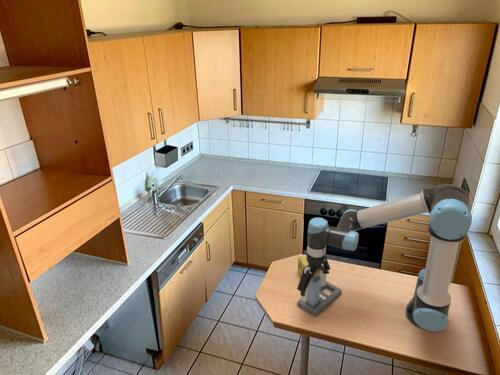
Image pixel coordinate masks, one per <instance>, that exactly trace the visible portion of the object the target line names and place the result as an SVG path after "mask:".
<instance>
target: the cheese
mask: <svg viewBox="0 0 500 375" xmlns="http://www.w3.org/2000/svg"><path fill="white" fill-rule="evenodd" d="M306 258H307V255H303V256H298V258H297V273H298V275H299V276H300V278H301V276H302V273H303V268H308V262H307V259H306ZM322 266H323V264H322ZM323 267H324V266H323ZM321 271H322V270H320V269H319V270H318V271H317V272H316V273H315V275H317V276H319V277H320V272H321ZM309 272H310V271H309ZM322 272H323V271H322ZM310 273H311V274H312V272H310Z"/></svg>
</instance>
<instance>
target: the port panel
mask: <svg viewBox="0 0 500 375" xmlns="http://www.w3.org/2000/svg"><path fill="white" fill-rule="evenodd" d="M325 289H327V290H328V291H330V292H331V293H330V294H327V293H325V292H323V290H325ZM342 291H343V290H342V289H341V288H339V287H337V285H334V284H332V283H331V282H329V281H327V280H326V285H325V286H323V285H320V296H319V304H318V305H317V306H316V307H315V308H312V307H311V306H309V305H308V304H306V302H304V301H303V300H301V298H300V299H299V300H297V305H296V306H297V307H299V308H300V309H301V310H303V311H304V312H306V313H308V315H311V316H312V317H314V318H317V316H319V315H320V314H321V313H323V312H324V311H325V309H327V307H328V306H330V305H331V304H332V303H333V302H335V300H336V299H338V297H340V296H341V295H342Z"/></svg>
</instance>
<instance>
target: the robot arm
mask: <svg viewBox="0 0 500 375" xmlns="http://www.w3.org/2000/svg"><path fill="white" fill-rule="evenodd" d="M422 214H429V220H428V226H427V233H428V234H429V235H430V241H429V242H430V243H429V247H428V254H427V258H426V264H425V268H422V269H421V270H420V271H419V272H418V274H417V280H416V284H415V289H414V292H413V297H412V298H411V299H410V300H409V302H408V303H407V304H406V307H405V316H406V318H407V319H408V320H409V322H411V323H412V325H414V324H415V325H414V326H416V325H417V326H416V327H418V328H420V327H421V328H420V329H423V330H425V331H430V332H439V331H443V330H445V329H446V328H447V327H448V324H449V310H450V306H451V302H452V297H451V294H450V293H449V289H450V286H451V282H452V281H451V279H452V276H453V272H454V267H455V263H456V257H457V254H458V248H459V244H460V243H461V242H463V241H464V240H466V237H467V233H468V232H469V231H470V228H471V226H472V222H473V217H472V213H471V206H470V197H469V194H468V193H467V192H466V190H465V189H463V188H462V187H460V186H458V185H456V184H450V183H446V184H445V183H444V184H439V185H434V186H431V187H427V188H423V189H422V190H421V191H420V192H419V193H416V194H413V195H409V196H406V197H402V198H399V199H395V200H391V201H388V202H384V203H380V204H377V205H373V206H371V207H366V208H364V209H363V208H362V209H359V210H356V209H346V210H345V211H344V212H343V214H342V215H341V217H340V220H339V222H338V223H337V226H336V227H335V226H331V225H329V223H328V220H327V219H325V218H323V217H313V218H311V219H310V220H309V222H308V228H307V246H306V256H307V258H306V259H307V262H308V268H303V273H302V276H301V277H300V279H299V282H298V284H297V288H296V290H297V291H299V292H300V293H299V296H300V299H301V300H303V301H304V302H306V301H307V287H308V284H309V282H310V280H311V278H312V277H313V276H314V275H315V273H316V272H317V271H318V270H319V269H320V270H322V271H323V272H322V271H321V272H320V278H321V285H323V286H325V285H326V281H327V275H328V274H330V270H331V266H330V264H329V261H328V256H327V255H326V253H327V251H326V250H327V246H330V247H334V248H338V249H342V250H343V251H352V252H353V251H355V250H356V249H357V247H358V245H359V244H358V243H359V237H360V236H359V235H360V234H359V233H358V232H357V231H359V230H362V229H367V228H370V227H375V226H378V225H382V224H387V223H390V222H394V221H399V220H402V219H407V218H411V217H416V216H418V215H422ZM322 264H323V266H324V267H323V266H322ZM309 271H310V272H312V274H311V273H310V272H309Z"/></svg>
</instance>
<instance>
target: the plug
mask: <svg viewBox="0 0 500 375" xmlns="http://www.w3.org/2000/svg"><path fill="white" fill-rule="evenodd" d="M320 285H321V278H320V277H319V276H317V275H314V276H313V277H312V278H311V280H310V282H309V284H308V287H307V301H306V304H308V305H309V306H311V307H312V308H315V307H316V306H317V305H318V304H319V296H320Z"/></svg>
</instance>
